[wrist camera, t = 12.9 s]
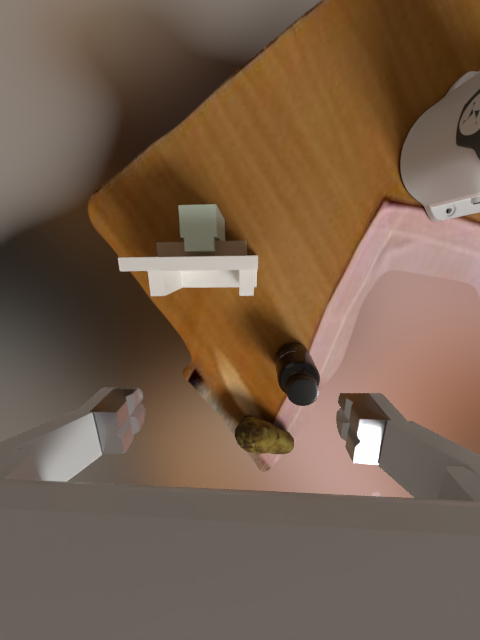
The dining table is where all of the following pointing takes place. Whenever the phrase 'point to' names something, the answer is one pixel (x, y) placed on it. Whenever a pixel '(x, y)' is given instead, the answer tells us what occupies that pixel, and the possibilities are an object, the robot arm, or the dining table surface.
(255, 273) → the wall board
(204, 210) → the pale green box
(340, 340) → the dining table surface
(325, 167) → the dining table surface
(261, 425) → the potato
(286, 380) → the supplement bottle
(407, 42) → the dining table surface
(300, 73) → the dining table surface
